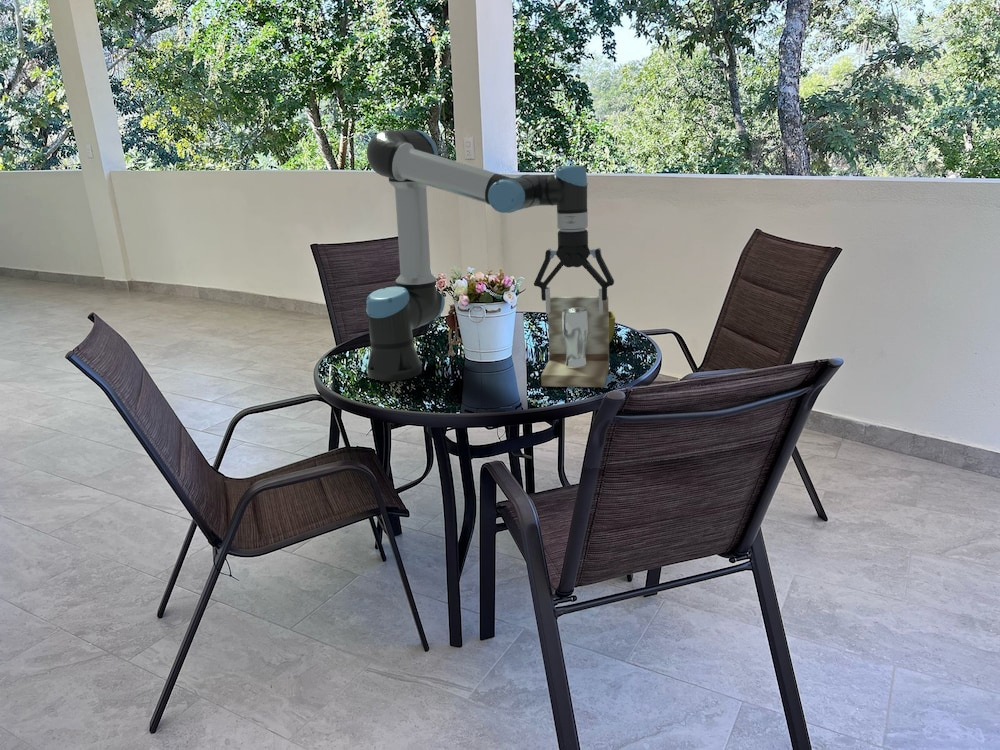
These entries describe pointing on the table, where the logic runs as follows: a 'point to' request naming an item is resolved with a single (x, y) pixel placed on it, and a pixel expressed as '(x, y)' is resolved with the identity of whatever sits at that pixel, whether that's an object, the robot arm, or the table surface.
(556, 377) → the beige brown l-shaped block
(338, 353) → the table surface
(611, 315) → the flower pot
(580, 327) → the beer glass
